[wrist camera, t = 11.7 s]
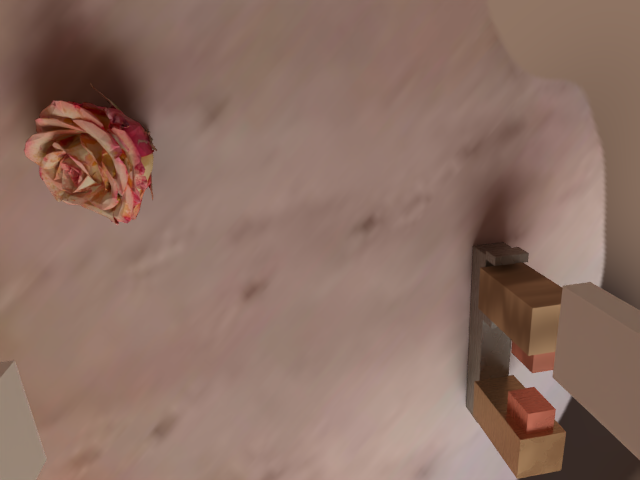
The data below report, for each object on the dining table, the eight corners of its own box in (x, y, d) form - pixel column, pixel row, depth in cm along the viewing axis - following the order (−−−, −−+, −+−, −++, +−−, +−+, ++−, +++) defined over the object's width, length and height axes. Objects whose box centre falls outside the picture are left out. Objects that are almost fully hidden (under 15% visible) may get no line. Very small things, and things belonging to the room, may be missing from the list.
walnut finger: (480, 267, 42) (532, 308, 34) (522, 262, 42) (583, 301, 35) (477, 327, 44) (526, 378, 36) (517, 321, 44) (574, 370, 37)
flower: (125, 48, 33) (24, 76, 27) (217, 149, 34) (140, 198, 28) (83, 130, 39) (-8, 168, 33) (162, 213, 40) (89, 265, 34)
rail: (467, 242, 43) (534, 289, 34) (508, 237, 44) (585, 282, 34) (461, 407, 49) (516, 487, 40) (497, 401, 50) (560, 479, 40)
